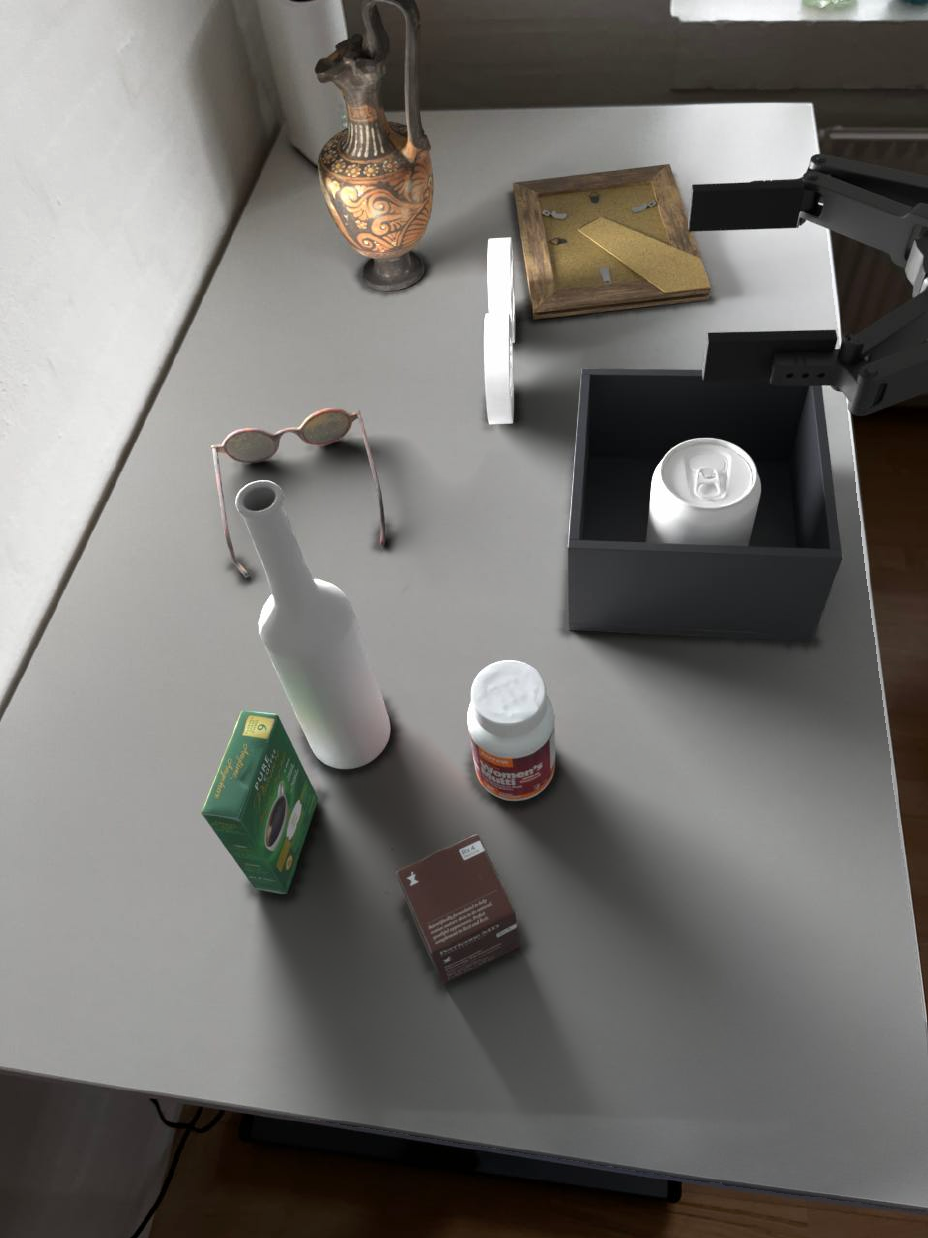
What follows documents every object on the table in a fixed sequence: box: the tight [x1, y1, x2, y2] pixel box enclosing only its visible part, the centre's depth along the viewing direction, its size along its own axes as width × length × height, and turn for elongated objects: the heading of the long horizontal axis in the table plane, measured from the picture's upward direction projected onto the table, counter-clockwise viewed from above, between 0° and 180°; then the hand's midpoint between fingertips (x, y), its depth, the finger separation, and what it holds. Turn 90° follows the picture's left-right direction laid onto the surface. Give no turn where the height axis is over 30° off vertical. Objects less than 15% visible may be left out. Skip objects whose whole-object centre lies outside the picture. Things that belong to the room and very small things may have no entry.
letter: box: [483, 237, 516, 425], centre depth 97 cm, size 22×2×10 cm, turn 178°
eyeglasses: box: [210, 407, 386, 578], centre depth 91 cm, size 15×15×5 cm
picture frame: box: [512, 163, 712, 320], centre depth 110 cm, size 19×2×24 cm
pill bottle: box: [466, 659, 556, 802], centre depth 71 cm, size 6×6×11 cm
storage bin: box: [567, 367, 844, 643], centre depth 82 cm, size 20×20×11 cm
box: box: [395, 833, 521, 984], centre depth 66 cm, size 6×6×7 cm
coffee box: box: [200, 709, 319, 895], centre depth 68 cm, size 8×3×13 cm, turn 168°
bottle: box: [234, 479, 392, 770], centre depth 67 cm, size 7×7×28 cm
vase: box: [314, 0, 435, 292], centre depth 99 cm, size 12×12×30 cm
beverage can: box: [646, 438, 761, 546], centre depth 78 cm, size 8×8×12 cm
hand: (696, 277), depth 56 cm, fingers open, 13 cm apart
